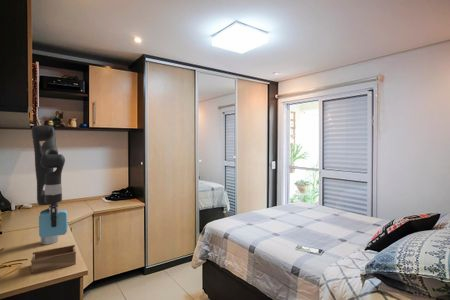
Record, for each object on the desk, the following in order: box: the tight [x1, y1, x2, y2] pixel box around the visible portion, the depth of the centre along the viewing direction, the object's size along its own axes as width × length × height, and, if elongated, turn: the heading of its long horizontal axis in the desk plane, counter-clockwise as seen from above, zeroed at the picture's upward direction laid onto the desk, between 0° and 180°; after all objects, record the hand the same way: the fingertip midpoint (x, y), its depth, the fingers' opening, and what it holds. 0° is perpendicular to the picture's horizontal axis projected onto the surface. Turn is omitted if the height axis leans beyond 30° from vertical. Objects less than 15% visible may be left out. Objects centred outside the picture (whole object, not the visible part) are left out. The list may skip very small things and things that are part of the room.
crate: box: [30, 244, 77, 274], centre depth 137 cm, size 12×19×6 cm, turn 122°
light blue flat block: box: [38, 209, 69, 238], centre depth 137 cm, size 12×4×12 cm, turn 115°
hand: (53, 225), depth 137 cm, fingers closed on light blue flat block, 5 cm apart
